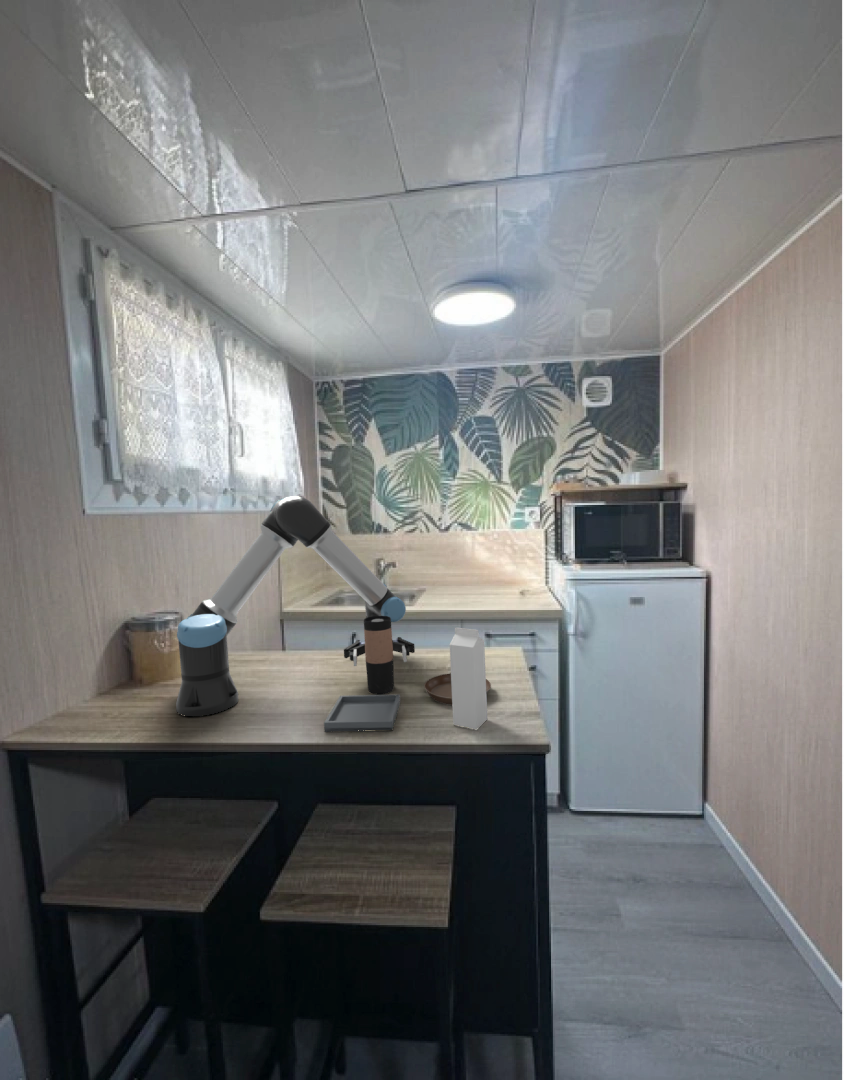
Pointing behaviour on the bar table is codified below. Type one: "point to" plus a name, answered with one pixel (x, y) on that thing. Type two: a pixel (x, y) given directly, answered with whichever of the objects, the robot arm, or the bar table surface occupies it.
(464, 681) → the milk
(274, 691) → the bar table surface
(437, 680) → the plant saucer
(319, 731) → the bar table surface
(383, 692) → the travel mug
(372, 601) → the robot arm
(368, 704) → the tray
